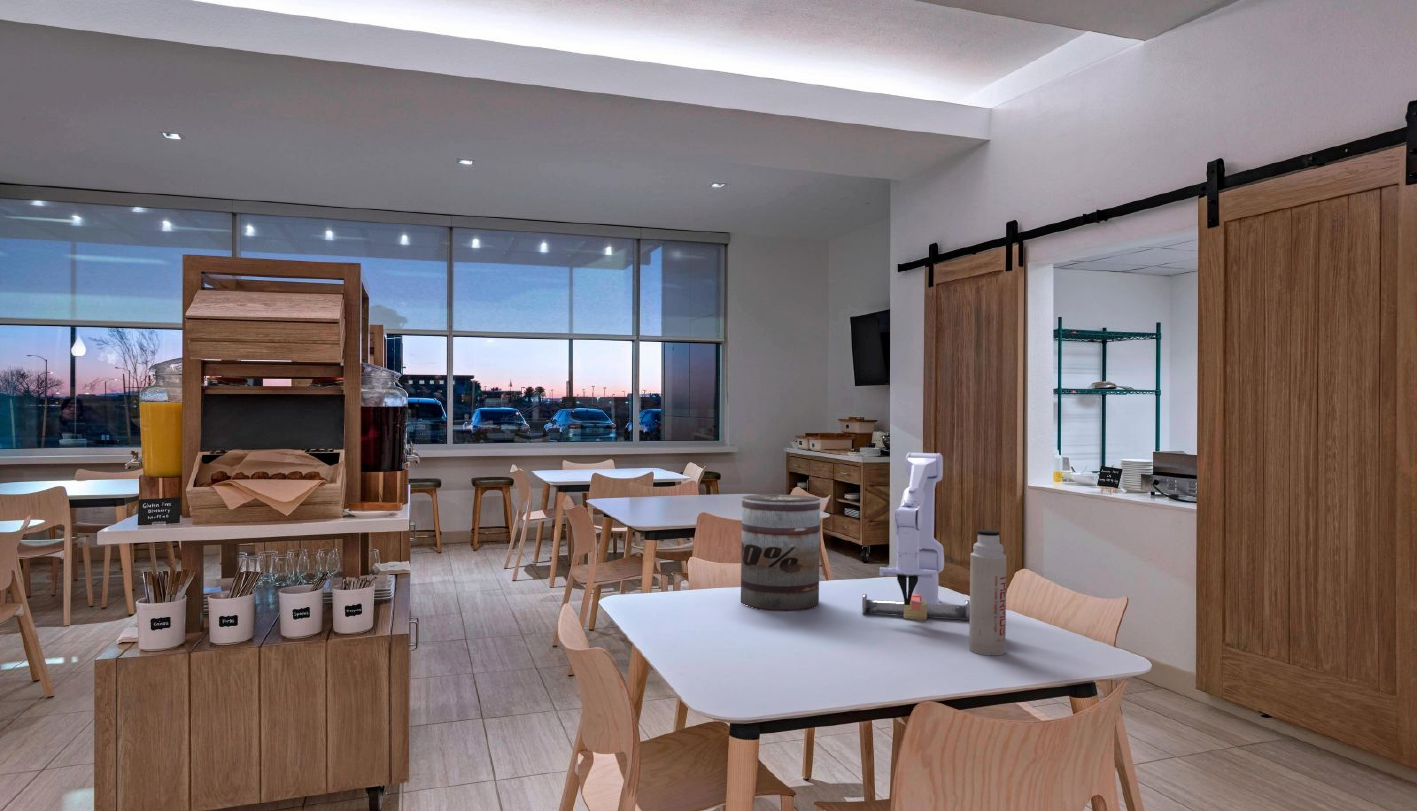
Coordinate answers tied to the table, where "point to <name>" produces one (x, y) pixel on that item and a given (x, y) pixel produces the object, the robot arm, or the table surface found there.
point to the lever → (915, 601)
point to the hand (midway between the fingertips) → (907, 604)
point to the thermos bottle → (987, 595)
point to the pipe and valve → (921, 614)
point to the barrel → (780, 552)
